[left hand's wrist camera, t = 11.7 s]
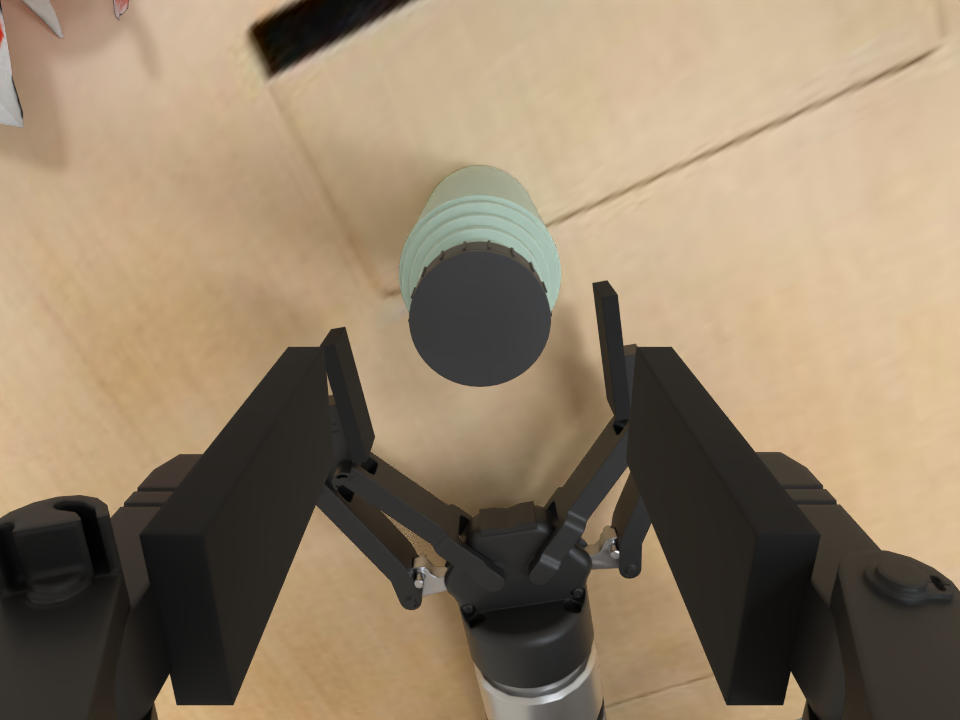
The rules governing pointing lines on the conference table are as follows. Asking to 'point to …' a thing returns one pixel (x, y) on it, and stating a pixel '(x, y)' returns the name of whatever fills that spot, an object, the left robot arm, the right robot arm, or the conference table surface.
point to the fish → (3, 98)
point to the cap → (479, 314)
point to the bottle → (480, 226)
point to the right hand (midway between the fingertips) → (466, 311)
